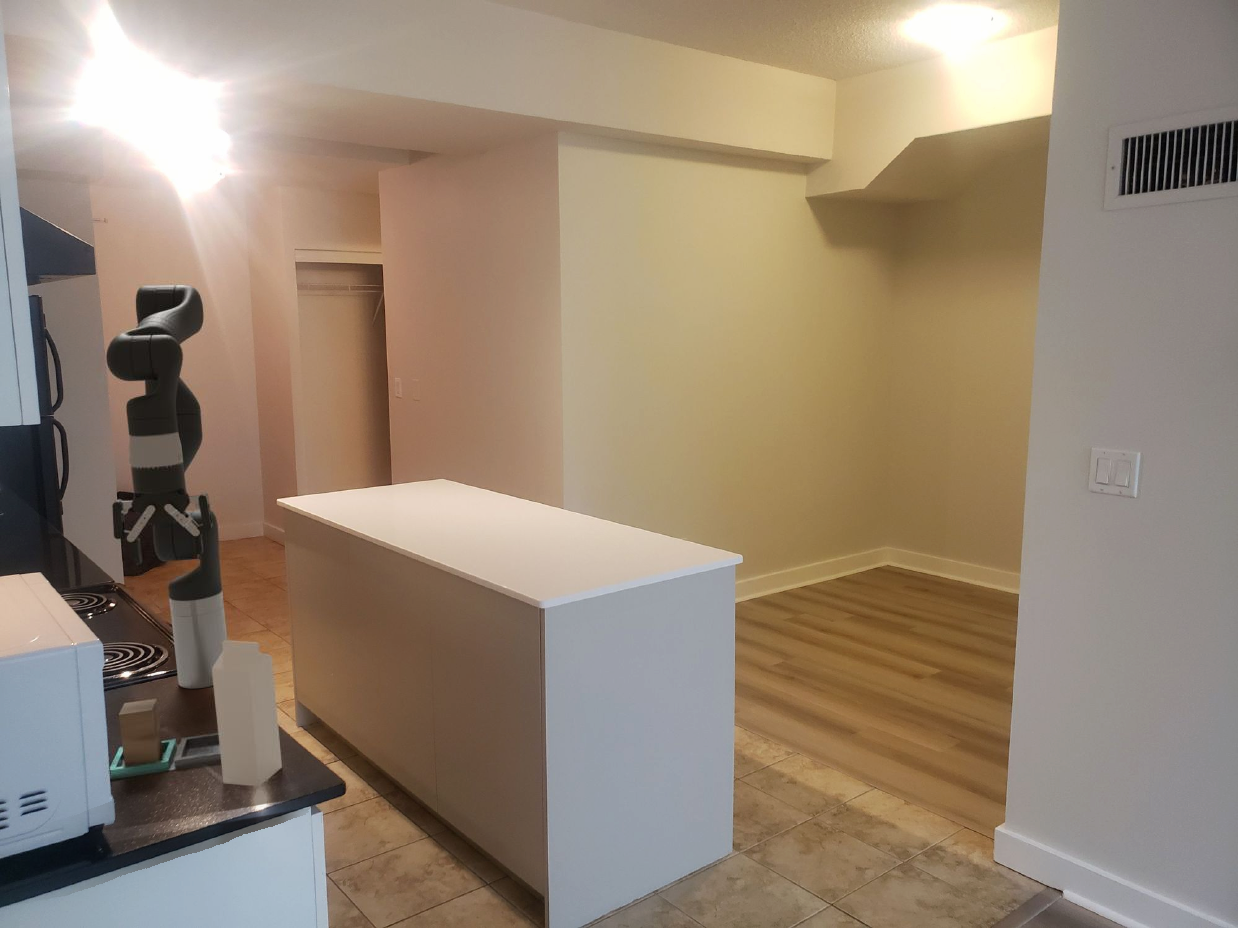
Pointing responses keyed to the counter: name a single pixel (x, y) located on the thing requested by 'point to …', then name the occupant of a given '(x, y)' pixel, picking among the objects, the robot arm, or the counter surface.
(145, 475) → the robot arm
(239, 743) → the milk
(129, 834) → the counter surface
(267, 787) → the counter surface
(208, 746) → the trays
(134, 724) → the walnut block
